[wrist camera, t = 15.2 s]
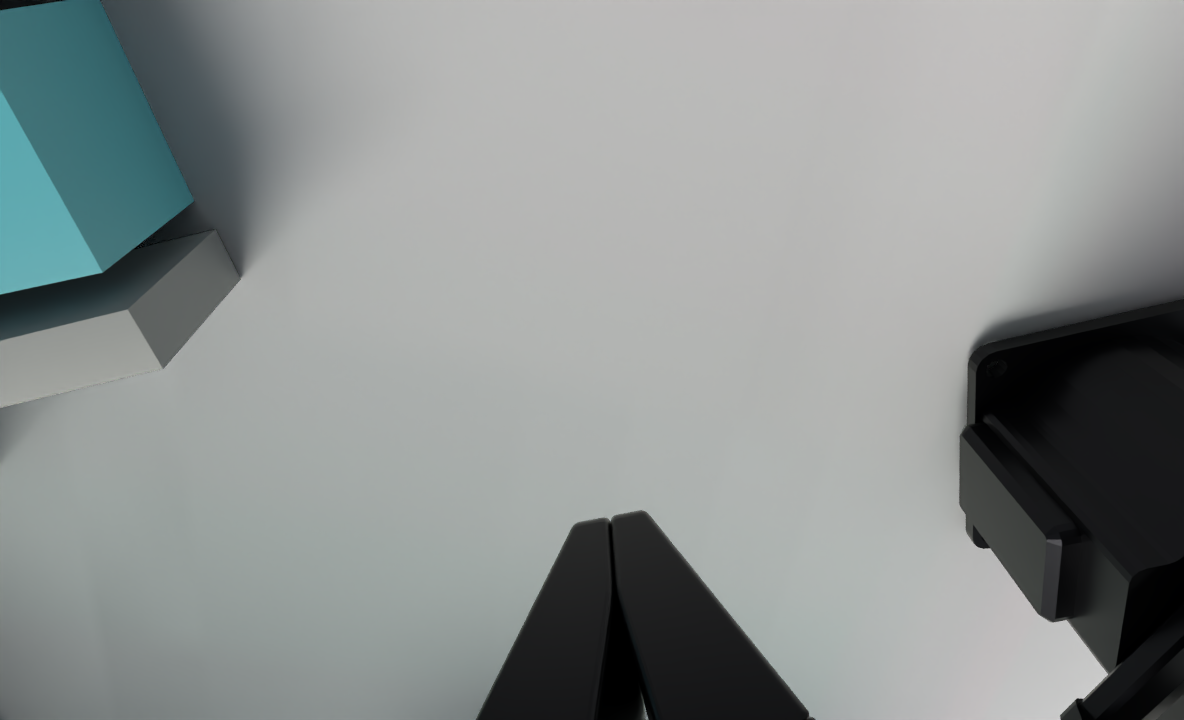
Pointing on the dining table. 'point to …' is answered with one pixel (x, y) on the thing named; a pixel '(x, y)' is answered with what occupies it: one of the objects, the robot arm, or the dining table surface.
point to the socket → (111, 318)
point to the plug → (75, 148)
